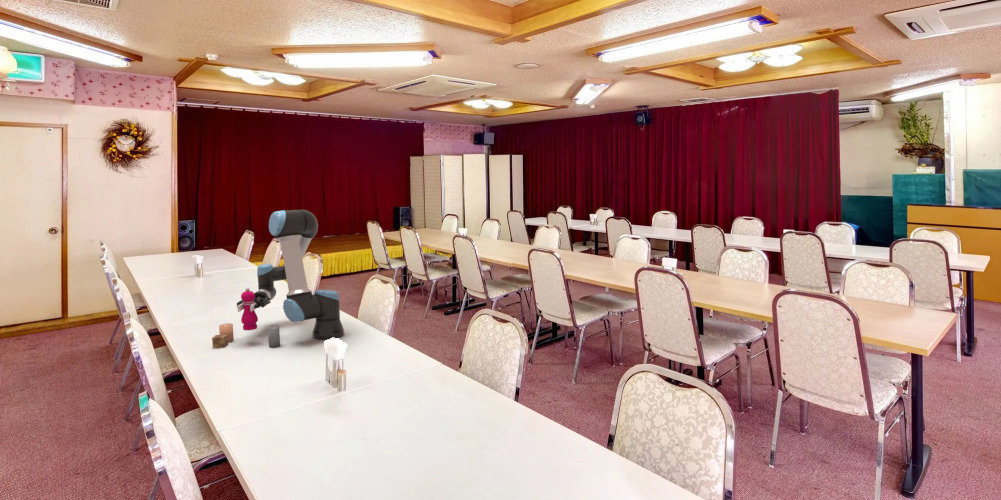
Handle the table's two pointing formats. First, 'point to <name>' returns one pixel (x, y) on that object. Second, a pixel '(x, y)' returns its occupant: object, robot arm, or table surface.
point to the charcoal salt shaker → (274, 336)
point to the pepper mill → (248, 311)
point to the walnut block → (220, 341)
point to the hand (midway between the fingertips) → (244, 308)
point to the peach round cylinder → (227, 331)
